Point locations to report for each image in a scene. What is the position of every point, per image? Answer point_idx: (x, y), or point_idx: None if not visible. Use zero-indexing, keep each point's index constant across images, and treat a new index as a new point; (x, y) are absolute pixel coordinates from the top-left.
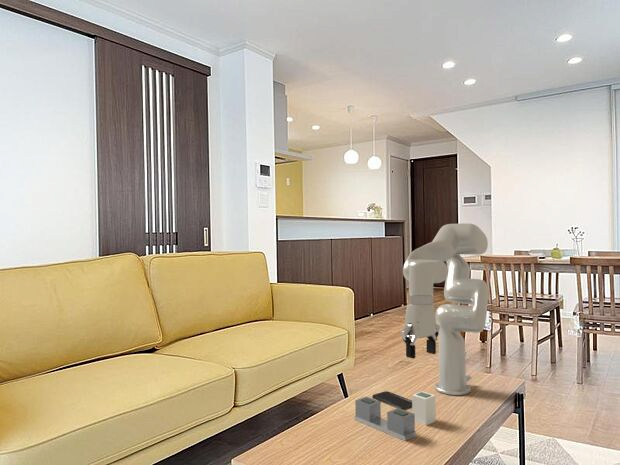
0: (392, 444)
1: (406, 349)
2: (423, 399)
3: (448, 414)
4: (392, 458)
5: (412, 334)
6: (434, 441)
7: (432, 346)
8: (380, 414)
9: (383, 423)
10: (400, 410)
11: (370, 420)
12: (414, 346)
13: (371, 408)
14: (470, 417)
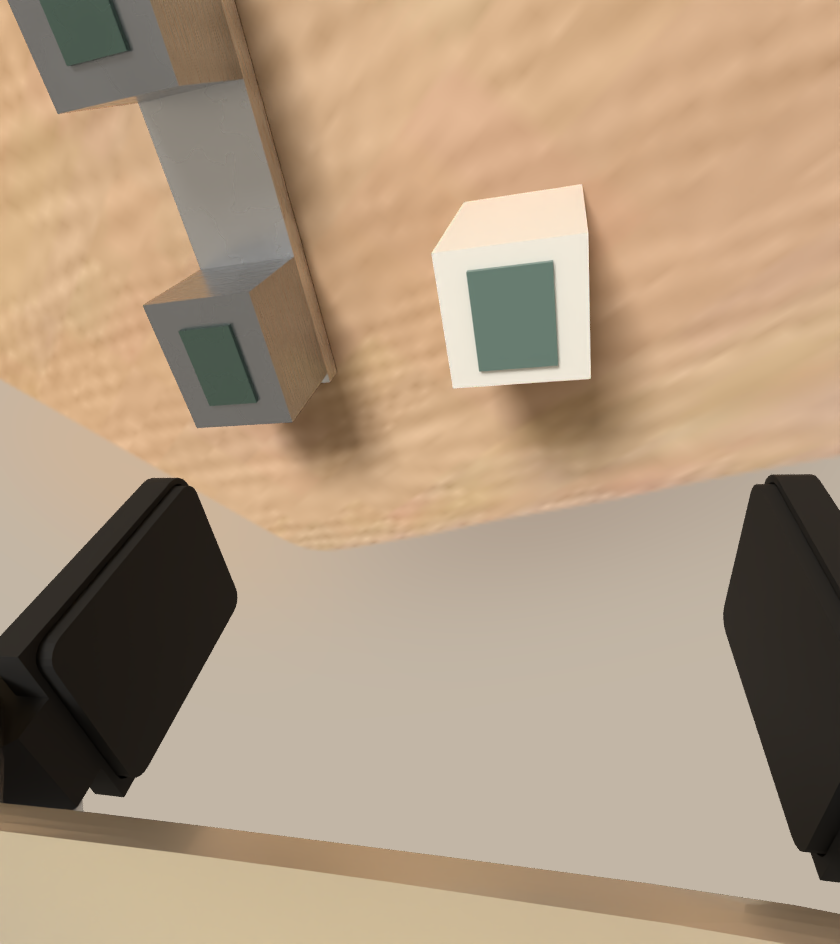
0: None
1: (79, 565)
2: (450, 368)
3: (765, 275)
4: (132, 447)
5: (153, 868)
6: (375, 456)
7: (769, 717)
8: (229, 80)
9: (216, 183)
10: (231, 345)
11: (140, 101)
12: (115, 775)
13: (96, 107)
14: (819, 394)
